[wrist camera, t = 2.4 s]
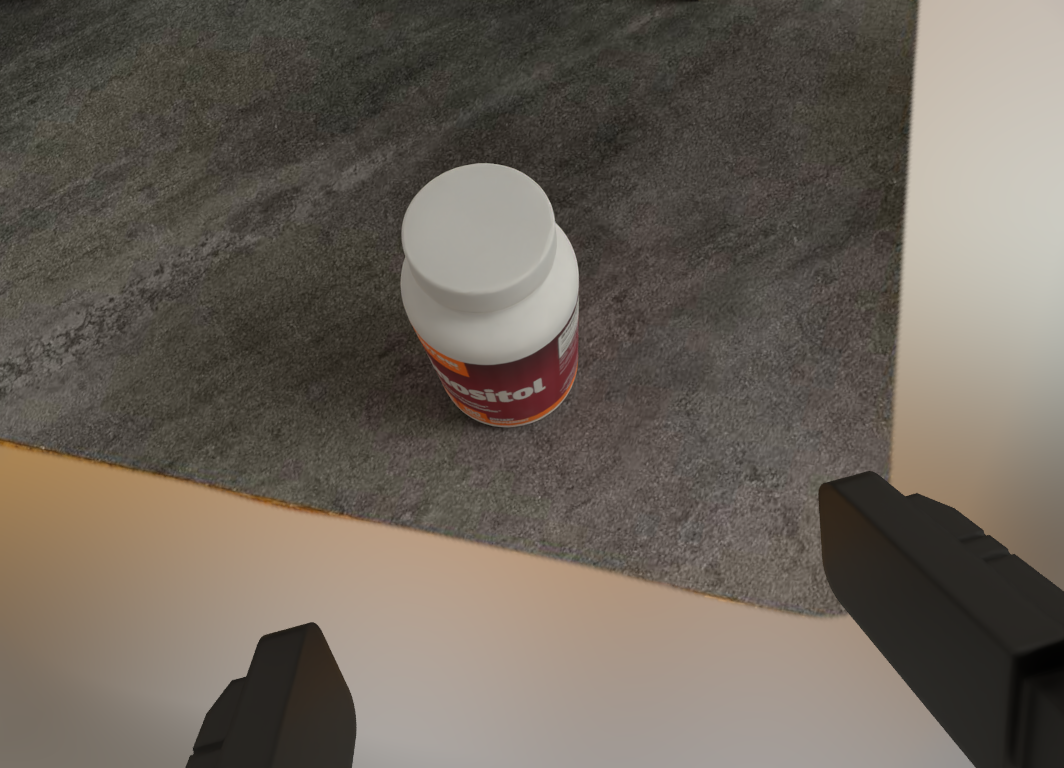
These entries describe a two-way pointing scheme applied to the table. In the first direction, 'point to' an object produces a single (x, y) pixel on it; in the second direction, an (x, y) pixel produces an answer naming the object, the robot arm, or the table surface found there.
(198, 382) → the table surface
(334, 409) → the table surface
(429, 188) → the pill bottle
